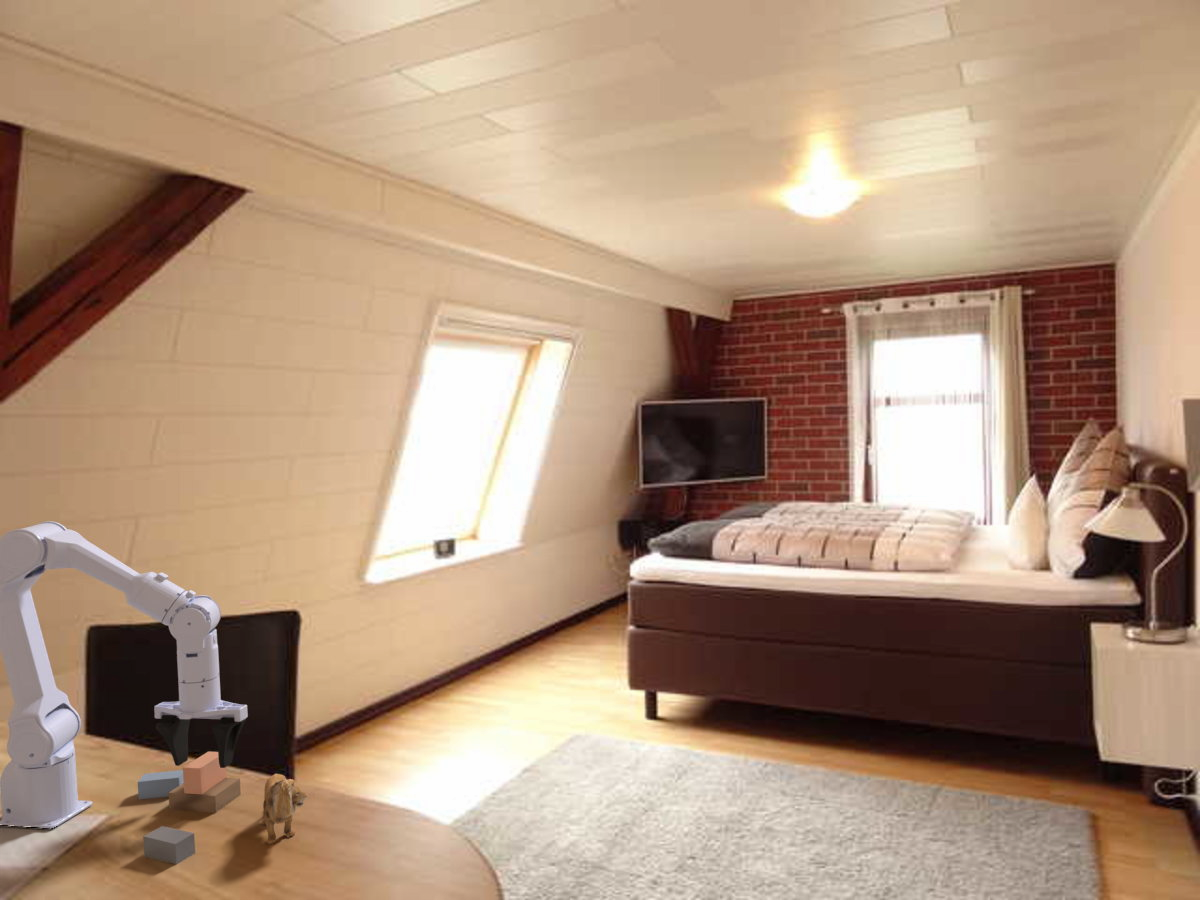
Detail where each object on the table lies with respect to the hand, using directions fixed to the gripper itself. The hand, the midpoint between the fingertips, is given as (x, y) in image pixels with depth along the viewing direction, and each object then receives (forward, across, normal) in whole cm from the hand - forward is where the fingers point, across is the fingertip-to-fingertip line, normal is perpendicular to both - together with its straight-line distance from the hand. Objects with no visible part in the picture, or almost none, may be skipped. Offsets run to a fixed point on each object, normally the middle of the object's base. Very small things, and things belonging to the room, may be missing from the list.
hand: (203, 764), depth 130 cm
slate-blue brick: (+6, -9, +2) cm, 11 cm away
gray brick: (+6, +5, -15) cm, 17 cm away
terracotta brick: (+3, 0, 0) cm, 3 cm away
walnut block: (+6, 0, 0) cm, 6 cm away
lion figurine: (+6, +17, -7) cm, 19 cm away
